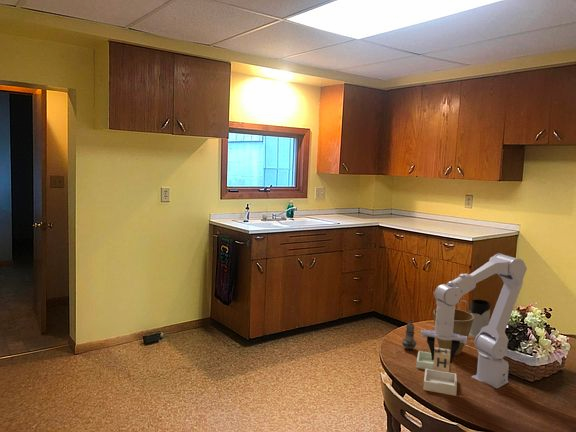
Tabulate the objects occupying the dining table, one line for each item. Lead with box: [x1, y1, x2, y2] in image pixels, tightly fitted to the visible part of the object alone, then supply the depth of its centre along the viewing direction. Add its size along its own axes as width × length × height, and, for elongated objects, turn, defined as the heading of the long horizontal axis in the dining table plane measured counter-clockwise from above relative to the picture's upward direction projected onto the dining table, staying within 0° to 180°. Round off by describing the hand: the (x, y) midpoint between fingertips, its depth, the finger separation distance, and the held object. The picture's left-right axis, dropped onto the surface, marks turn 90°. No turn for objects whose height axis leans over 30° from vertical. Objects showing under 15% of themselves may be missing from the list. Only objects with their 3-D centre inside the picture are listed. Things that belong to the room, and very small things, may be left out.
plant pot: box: [433, 308, 474, 356], centre depth 183 cm, size 15×15×16 cm
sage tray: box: [415, 350, 434, 370], centre depth 171 cm, size 10×10×3 cm
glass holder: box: [458, 299, 491, 339], centre depth 206 cm, size 9×14×15 cm, turn 42°
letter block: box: [433, 346, 451, 373], centre depth 155 cm, size 5×5×6 cm
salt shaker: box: [401, 320, 418, 351], centre depth 185 cm, size 6×6×12 cm
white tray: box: [423, 369, 458, 397], centre depth 156 cm, size 10×10×3 cm
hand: (441, 360), depth 155 cm, fingers closed on letter block, 5 cm apart
